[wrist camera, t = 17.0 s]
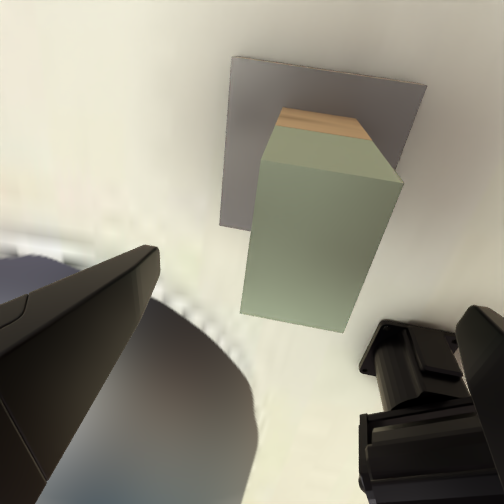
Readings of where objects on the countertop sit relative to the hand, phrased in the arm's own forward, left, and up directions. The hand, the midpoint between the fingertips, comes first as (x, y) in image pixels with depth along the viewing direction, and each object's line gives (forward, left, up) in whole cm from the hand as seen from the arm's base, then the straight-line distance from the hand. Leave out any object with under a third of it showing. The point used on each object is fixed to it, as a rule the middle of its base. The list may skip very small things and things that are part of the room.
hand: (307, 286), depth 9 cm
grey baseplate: (0, 0, -13) cm, 13 cm away
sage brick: (0, 0, -6) cm, 6 cm away
